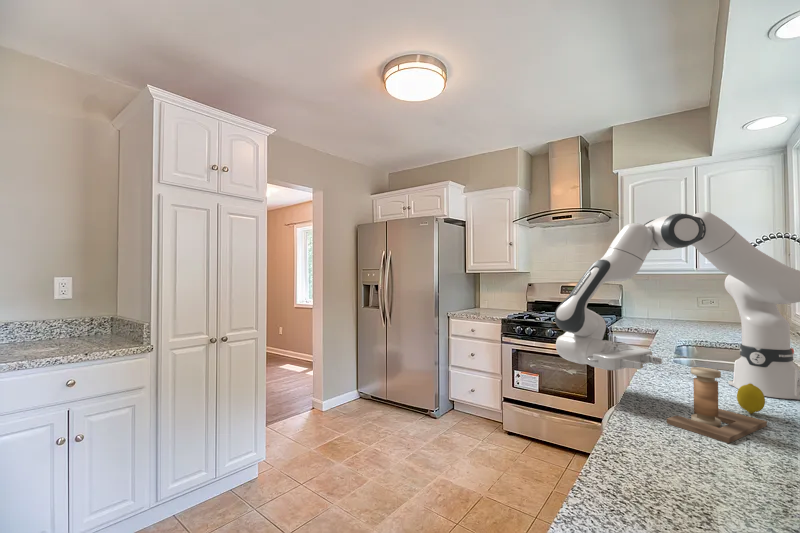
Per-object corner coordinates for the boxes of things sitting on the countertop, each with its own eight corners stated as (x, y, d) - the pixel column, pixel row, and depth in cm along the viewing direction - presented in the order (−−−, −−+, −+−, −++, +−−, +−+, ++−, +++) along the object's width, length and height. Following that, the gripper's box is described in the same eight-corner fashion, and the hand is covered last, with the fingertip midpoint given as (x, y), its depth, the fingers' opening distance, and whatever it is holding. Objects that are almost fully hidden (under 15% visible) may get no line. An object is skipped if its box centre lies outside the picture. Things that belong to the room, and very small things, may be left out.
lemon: (759, 419, 99) (759, 387, 99) (732, 412, 103) (732, 382, 104) (769, 415, 101) (768, 384, 101) (742, 408, 106) (742, 379, 106)
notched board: (706, 409, 105) (706, 405, 105) (766, 426, 94) (766, 421, 94) (666, 423, 95) (666, 418, 95) (728, 443, 85) (728, 437, 85)
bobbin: (698, 417, 100) (698, 366, 100) (725, 425, 95) (725, 371, 95) (686, 421, 97) (686, 368, 97) (714, 429, 92) (713, 374, 92)
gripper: (582, 348, 115) (629, 356, 103) (623, 341, 125) (670, 348, 112) (582, 369, 115) (629, 380, 103) (623, 360, 124) (670, 370, 112)
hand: (651, 363), depth 108 cm, fingers open, 8 cm apart
